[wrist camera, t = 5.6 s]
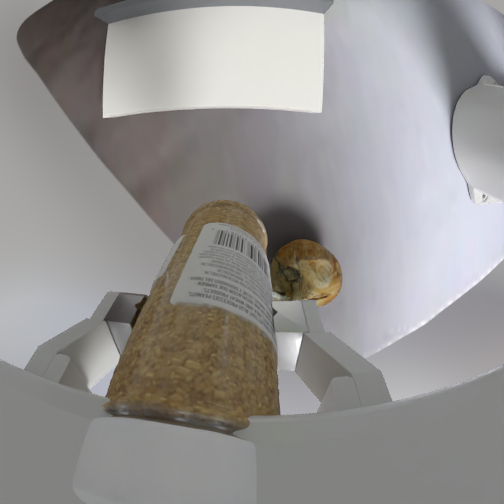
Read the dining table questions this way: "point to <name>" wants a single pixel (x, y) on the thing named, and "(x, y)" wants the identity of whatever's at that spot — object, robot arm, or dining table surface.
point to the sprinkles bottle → (191, 374)
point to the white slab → (213, 55)
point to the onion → (305, 273)
